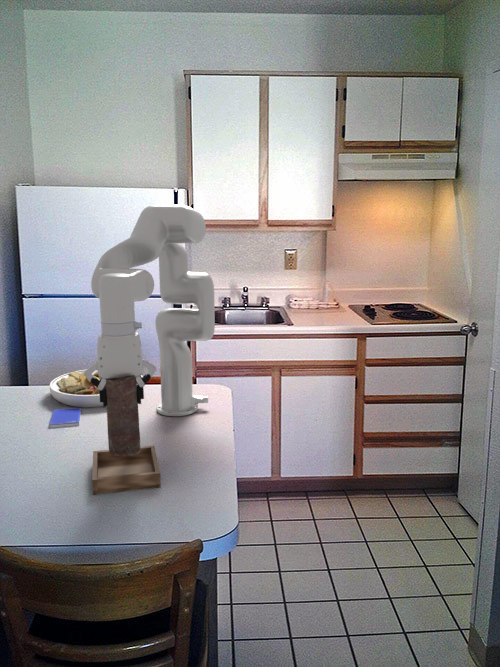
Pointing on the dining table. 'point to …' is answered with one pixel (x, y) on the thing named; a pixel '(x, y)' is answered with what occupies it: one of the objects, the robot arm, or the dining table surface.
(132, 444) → the candle
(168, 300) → the robot arm
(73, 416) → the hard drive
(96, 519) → the dining table surface
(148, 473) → the wooden tray
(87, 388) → the bowl
